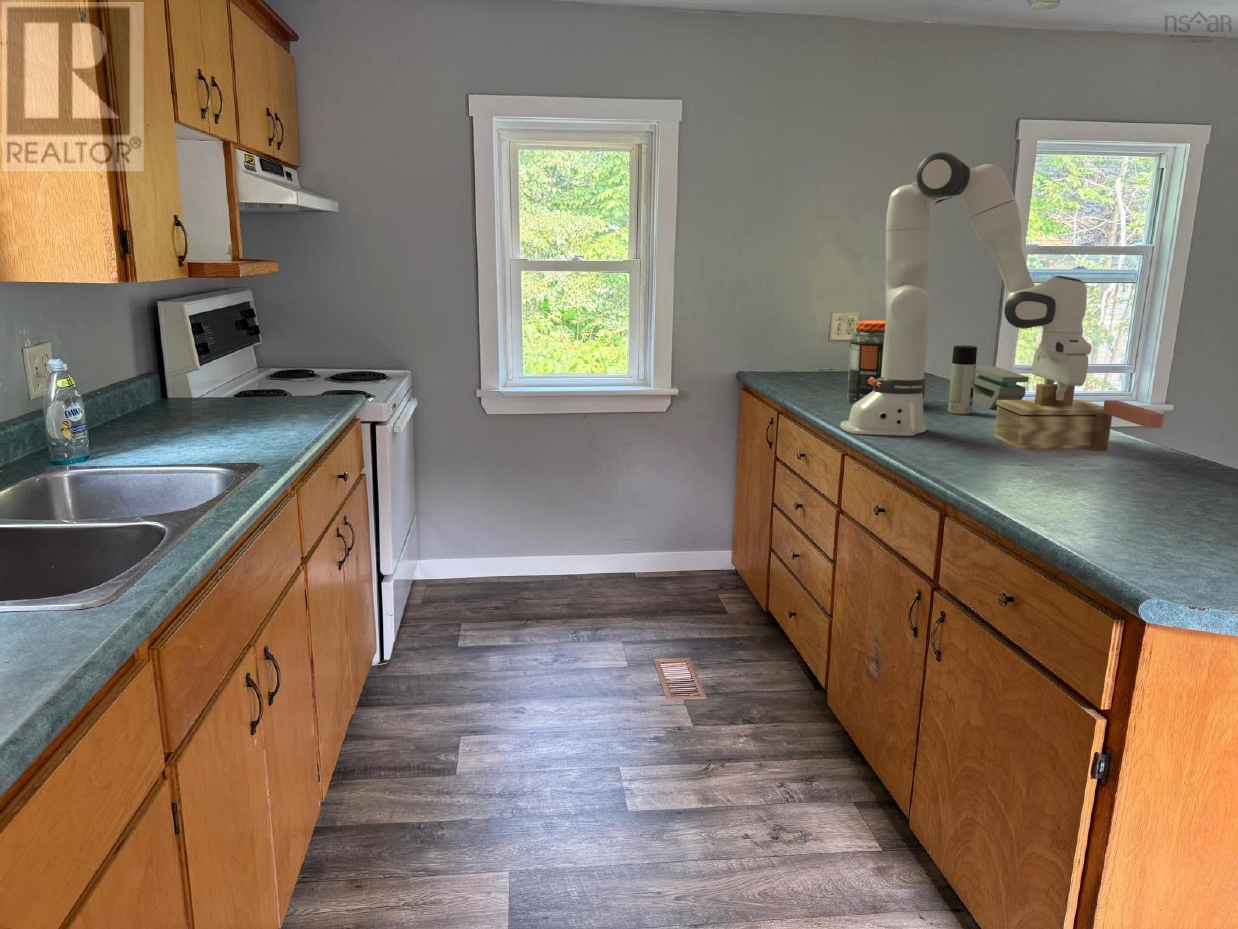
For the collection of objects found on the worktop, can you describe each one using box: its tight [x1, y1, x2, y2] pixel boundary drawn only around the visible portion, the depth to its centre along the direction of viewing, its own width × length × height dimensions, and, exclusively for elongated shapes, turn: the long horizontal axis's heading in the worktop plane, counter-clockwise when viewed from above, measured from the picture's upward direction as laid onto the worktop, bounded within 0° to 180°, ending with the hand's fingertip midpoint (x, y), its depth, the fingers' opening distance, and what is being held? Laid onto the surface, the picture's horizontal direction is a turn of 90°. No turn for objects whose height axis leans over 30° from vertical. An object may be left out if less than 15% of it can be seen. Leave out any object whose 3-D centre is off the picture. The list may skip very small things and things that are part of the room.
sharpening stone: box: [973, 365, 1030, 410], centre depth 266 cm, size 25×8×11 cm, turn 0°
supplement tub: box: [847, 319, 886, 404], centre depth 271 cm, size 16×16×26 cm
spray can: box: [947, 345, 978, 415], centre depth 253 cm, size 7×7×20 cm
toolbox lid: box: [996, 383, 1104, 416], centre depth 213 cm, size 22×14×8 cm, turn 90°
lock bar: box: [1103, 399, 1165, 429], centre depth 194 cm, size 3×18×3 cm, turn 0°
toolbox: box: [993, 407, 1113, 451], centre depth 214 cm, size 22×19×9 cm
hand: (1054, 398), depth 213 cm, fingers closed on toolbox lid, 3 cm apart
